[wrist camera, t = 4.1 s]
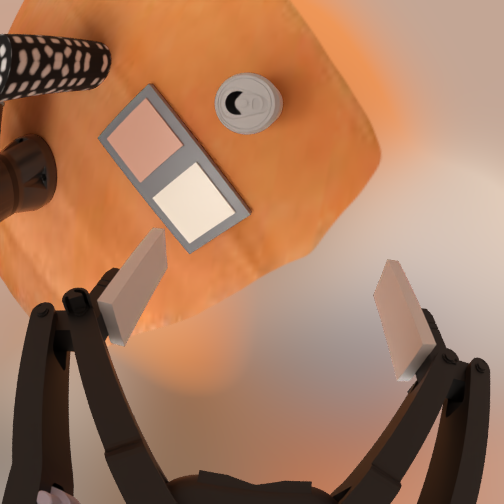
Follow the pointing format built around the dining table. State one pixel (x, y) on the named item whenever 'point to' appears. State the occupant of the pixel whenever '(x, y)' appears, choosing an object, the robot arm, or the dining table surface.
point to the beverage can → (248, 103)
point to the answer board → (172, 170)
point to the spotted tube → (49, 65)
